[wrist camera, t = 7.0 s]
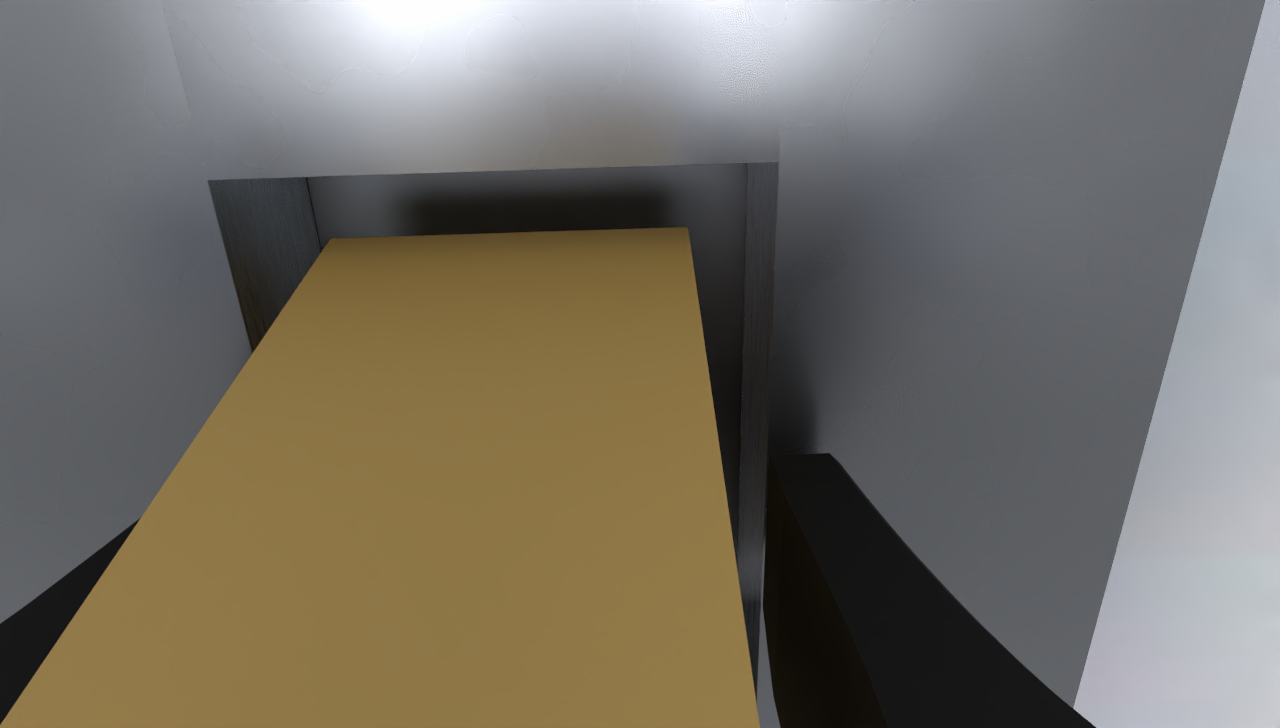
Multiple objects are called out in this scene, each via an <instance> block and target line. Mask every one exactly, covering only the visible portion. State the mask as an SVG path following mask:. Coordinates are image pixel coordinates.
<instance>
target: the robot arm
mask: <svg viewBox="0 0 1280 728" xmlns="http://www.w3.org/2000/svg"><path fill="white" fill-rule="evenodd" d="M140 519H141V518H140ZM140 519H138V520H137V521H136V522H134V523H133V524H132V525H130V526H129V527H128V528H127V529H125V530H124V531H123V532H121V533H120V534H119V535H118V536H116V537H115V538H114V539H112V540H111V541H110V542H108V543H107V544H106V545H105V546H103V547H102V548H101V549H99V550H98V551H97V552H95V553H94V554H93V555H91V556H90V557H89V558H88V559H86V560H85V561H84V562H82V563H81V564H80V565H78V566H77V567H76V568H74V569H73V570H72V571H70V572H69V573H68V574H67V575H65V576H64V577H63V578H61V579H60V580H59V581H57V582H56V583H55V584H53V585H52V586H51V587H49V588H48V589H47V590H46V591H44V592H43V593H42V594H40V595H39V596H38V597H36V598H35V599H34V600H32V601H31V602H30V603H28V604H27V605H26V606H24V607H23V608H22V609H20V610H19V611H17V612H16V613H14V614H13V615H12V616H10V617H9V618H7V619H6V620H5V621H3V622H2V623H0V725H1V723H2V722H3V720H4V719H5V717H6V716H7V714H8V713H9V712H10V710H11V709H12V707H13V706H14V704H15V703H16V701H17V700H18V698H19V697H20V695H21V694H22V692H23V691H24V689H25V688H26V686H27V685H28V684H29V682H30V681H31V679H32V678H33V676H34V675H35V673H36V672H37V670H38V669H39V667H40V666H41V664H42V663H43V661H44V660H45V659H46V657H47V656H48V654H49V653H50V651H51V650H52V648H53V647H54V645H55V644H56V642H57V641H58V639H59V638H60V636H61V635H62V633H63V632H64V631H65V629H66V628H67V626H68V625H69V623H70V622H71V620H72V619H73V617H74V616H75V614H76V613H77V611H78V610H79V608H80V607H81V605H82V604H83V603H84V601H85V600H86V598H87V597H88V595H89V594H90V592H91V591H92V589H93V588H94V586H95V585H96V583H97V582H98V580H99V579H100V577H101V576H102V575H103V573H104V572H105V570H106V569H107V567H108V566H109V564H110V563H111V561H112V560H113V558H114V557H115V555H116V554H117V552H118V551H119V549H120V548H121V547H122V545H123V544H124V542H125V541H126V539H127V538H128V536H129V535H130V533H131V532H132V530H133V529H134V527H135V526H136V524H137V523H138V521H139V520H140ZM763 614H764V623H765V631H766V640H767V649H768V657H769V665H770V673H771V681H772V689H773V697H774V701H775V706H776V710H777V715H778V719H779V723H780V727H781V728H1096V727H1095V726H1093V725H1092V724H1091V723H1090V722H1089V721H1087V720H1086V719H1085V718H1084V717H1083V716H1081V715H1080V714H1079V713H1078V712H1076V711H1075V710H1074V709H1073V708H1072V707H1070V706H1069V705H1068V704H1067V703H1066V702H1064V701H1063V700H1062V699H1061V698H1060V697H1058V696H1057V695H1056V694H1055V693H1054V692H1053V691H1052V690H1051V689H1049V688H1048V687H1047V686H1046V685H1045V684H1044V683H1043V682H1042V681H1041V680H1039V679H1038V678H1037V677H1036V676H1035V675H1034V674H1033V673H1032V672H1031V671H1030V670H1029V669H1027V668H1026V667H1025V666H1024V665H1023V664H1022V663H1021V662H1020V661H1019V660H1018V659H1017V658H1016V657H1015V656H1014V655H1013V654H1012V653H1010V652H1009V651H1008V650H1007V649H1006V648H1005V647H1004V646H1003V645H1002V644H1001V643H1000V642H999V641H998V640H997V639H996V638H995V637H994V636H993V635H992V634H991V633H990V632H989V631H988V630H987V629H986V628H985V627H984V626H982V625H981V623H980V622H979V621H978V620H977V619H976V618H975V617H974V616H973V615H972V614H971V613H970V612H969V611H968V610H967V609H966V608H965V607H964V606H963V605H962V604H961V603H960V602H959V601H958V600H957V599H956V598H955V597H954V596H953V595H952V594H951V592H950V591H949V590H948V589H947V588H946V587H945V586H944V585H943V584H942V583H941V582H940V581H939V580H938V578H937V577H936V576H935V575H934V574H933V573H932V572H931V571H930V570H929V569H928V568H927V567H926V565H925V564H924V563H923V562H922V561H921V560H920V559H919V558H918V557H917V556H916V555H915V553H914V552H913V551H912V550H911V549H910V548H909V547H908V545H907V544H906V543H905V542H904V541H903V540H902V539H901V537H900V536H899V535H898V534H897V533H896V532H895V530H894V529H893V528H892V527H891V526H890V524H889V523H888V522H887V521H886V520H885V519H884V517H883V516H882V515H881V514H880V513H879V511H878V510H877V509H876V508H875V507H874V505H873V504H872V503H871V502H870V500H869V499H868V498H867V497H866V496H865V494H864V493H863V492H862V491H861V489H860V488H859V487H858V486H857V484H856V483H855V482H854V480H853V479H852V478H851V477H850V475H849V474H848V473H847V472H846V470H845V469H844V468H843V466H842V465H841V464H840V463H839V462H838V461H837V460H836V459H835V458H834V457H833V456H832V455H831V454H830V453H813V454H780V455H769V471H768V494H767V517H766V540H765V563H764V586H763Z"/></svg>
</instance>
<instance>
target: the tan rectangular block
mask: <svg viewBox="0 0 1280 728" xmlns="http://www.w3.org/2000/svg"><path fill="white" fill-rule="evenodd" d="M0 728H760V724H759V717H758V710H757V704H756V697H755V690H754V683H753V676H752V669H751V662H750V655H749V648H748V641H747V634H746V627H745V620H744V613H743V606H742V599H741V592H740V585H739V578H738V571H737V564H736V557H735V550H734V544H733V537H732V530H731V523H730V516H729V509H728V502H727V495H726V488H725V481H724V474H723V467H722V460H721V453H720V446H719V439H718V432H717V425H716V418H715V411H714V404H713V397H712V391H711V384H710V377H709V370H708V363H707V356H706V349H705V342H704V335H703V328H702V321H701V314H700V307H699V300H698V293H697V286H696V279H695V272H694V265H693V258H692V251H691V244H690V237H689V231H688V227H673V228H642V229H610V230H579V231H548V232H516V233H485V234H454V235H422V236H391V237H360V238H331V239H330V240H329V242H328V243H327V244H326V246H325V247H324V249H323V250H322V252H321V253H320V255H319V256H318V258H317V259H316V261H315V262H314V264H313V265H312V267H311V268H310V270H309V271H308V272H307V274H306V275H305V277H304V278H303V280H302V281H301V283H300V284H299V286H298V287H297V289H296V290H295V292H294V293H293V295H292V296H291V298H290V299H289V300H288V302H287V303H286V305H285V306H284V308H283V309H282V311H281V312H280V314H279V315H278V317H277V318H276V320H275V321H274V323H273V324H272V326H271V327H270V328H269V330H268V331H267V333H266V334H265V336H264V337H263V339H262V340H261V342H260V343H259V345H258V346H257V348H256V349H255V351H254V352H253V354H252V355H251V356H250V358H249V359H248V361H247V362H246V364H245V365H244V367H243V368H242V370H241V371H240V373H239V374H238V376H237V377H236V379H235V380H234V382H233V383H232V384H231V386H230V387H229V389H228V390H227V392H226V393H225V395H224V396H223V398H222V399H221V401H220V402H219V404H218V405H217V407H216V408H215V410H214V411H213V412H212V414H211V415H210V417H209V418H208V420H207V421H206V423H205V424H204V426H203V427H202V429H201V430H200V432H199V433H198V435H197V436H196V437H195V439H194V440H193V442H192V443H191V445H190V446H189V448H188V449H187V451H186V452H185V454H184V455H183V457H182V458H181V460H180V461H179V463H178V464H177V465H176V467H175V468H174V470H173V471H172V473H171V474H170V476H169V477H168V479H167V480H166V482H165V483H164V485H163V486H162V488H161V489H160V491H159V492H158V493H157V495H156V496H155V498H154V499H153V501H152V502H151V504H150V505H149V507H148V508H147V510H146V511H145V513H144V514H143V516H142V517H141V519H140V520H139V521H138V523H137V524H136V526H135V527H134V529H133V530H132V532H131V533H130V535H129V536H128V538H127V539H126V541H125V542H124V544H123V545H122V547H121V548H120V549H119V551H118V552H117V554H116V555H115V557H114V558H113V560H112V561H111V563H110V564H109V566H108V567H107V569H106V570H105V572H104V573H103V575H102V576H101V577H100V579H99V580H98V582H97V583H96V585H95V586H94V588H93V589H92V591H91V592H90V594H89V595H88V597H87V598H86V600H85V601H84V603H83V604H82V605H81V607H80V608H79V610H78V611H77V613H76V614H75V616H74V617H73V619H72V620H71V622H70V623H69V625H68V626H67V628H66V629H65V631H64V632H63V633H62V635H61V636H60V638H59V639H58V641H57V642H56V644H55V645H54V647H53V648H52V650H51V651H50V653H49V654H48V656H47V657H46V659H45V660H44V661H43V663H42V664H41V666H40V667H39V669H38V670H37V672H36V673H35V675H34V676H33V678H32V679H31V681H30V682H29V684H28V685H27V686H26V688H25V689H24V691H23V692H22V694H21V695H20V697H19V698H18V700H17V701H16V703H15V704H14V706H13V707H12V709H11V710H10V712H9V713H8V714H7V716H6V717H5V719H4V720H3V722H2V723H1V725H0Z"/></svg>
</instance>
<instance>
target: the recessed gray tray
mask: <svg viewBox="0 0 1280 728" xmlns="http://www.w3.org/2000/svg"><path fill="white" fill-rule="evenodd" d="M1264 3H1265V0H0V623H2V622H3V621H5V620H6V619H7V618H9V617H10V616H12V615H13V614H14V613H16V612H17V611H19V610H20V609H22V608H23V607H24V606H26V605H27V604H28V603H30V602H31V601H32V600H34V599H35V598H36V597H38V596H39V595H40V594H42V593H43V592H44V591H46V590H47V589H48V588H49V587H51V586H52V585H53V584H55V583H56V582H57V581H59V580H60V579H61V578H63V577H64V576H65V575H67V574H68V573H69V572H70V571H72V570H73V569H74V568H76V567H77V566H78V565H80V564H81V563H82V562H84V561H85V560H86V559H88V558H89V557H90V556H91V555H93V554H94V553H95V552H97V551H98V550H99V549H101V548H102V547H103V546H105V545H106V544H107V543H108V542H110V541H111V540H112V539H114V538H115V537H116V536H118V535H119V534H120V533H121V532H123V531H124V530H125V529H127V528H128V527H129V526H130V525H132V524H133V523H134V522H136V521H137V520H138V519H140V518H141V517H142V516H143V514H144V513H145V511H146V510H147V508H148V507H149V505H150V504H151V502H152V501H153V499H154V498H155V496H156V495H157V493H158V492H159V491H160V489H161V488H162V486H163V485H164V483H165V482H166V480H167V479H168V477H169V476H170V474H171V473H172V471H173V470H174V468H175V467H176V465H177V464H178V463H179V461H180V460H181V458H182V457H183V455H184V454H185V452H186V451H187V449H188V448H189V446H190V445H191V443H192V442H193V440H194V439H195V437H196V436H197V435H198V433H199V432H200V430H201V429H202V427H203V426H204V424H205V423H206V421H207V420H208V418H209V417H210V415H211V414H212V412H213V411H214V410H215V408H216V407H217V405H218V404H219V402H220V401H221V399H222V398H223V396H224V395H225V393H226V392H227V390H228V389H229V387H230V386H231V384H232V383H233V382H234V380H235V379H236V377H237V376H238V374H239V373H240V371H241V370H242V368H243V367H244V365H245V364H246V362H247V361H248V359H249V358H250V356H251V355H252V354H253V352H254V351H255V349H256V348H257V346H258V345H259V343H260V342H261V340H262V339H263V337H264V336H265V334H266V333H267V331H268V330H269V328H270V327H271V326H272V324H273V323H274V321H275V320H276V318H277V317H278V315H279V314H280V312H281V311H282V309H283V308H284V306H285V305H286V303H287V302H288V300H289V299H290V298H291V296H292V295H293V293H294V292H295V290H296V289H297V287H298V286H299V284H300V283H301V281H302V280H303V278H304V277H305V275H306V274H307V272H308V271H309V270H310V268H311V267H312V265H313V264H314V262H315V261H316V259H317V258H318V256H319V255H320V253H321V250H320V245H319V240H318V235H317V230H316V225H315V220H314V216H313V211H312V206H311V201H310V196H309V191H308V186H307V182H306V177H320V176H352V175H383V174H414V173H446V172H477V171H509V170H540V169H572V168H603V167H634V166H666V165H697V164H729V163H748V164H747V204H746V243H745V283H744V322H743V361H742V401H741V440H740V480H739V519H738V558H737V571H738V578H739V585H740V592H741V599H742V606H743V613H744V620H745V627H746V634H747V641H748V648H749V655H750V662H751V669H752V676H753V683H754V690H755V697H756V704H757V710H758V717H759V724H760V728H781V727H780V723H779V719H778V715H777V710H776V706H775V701H774V697H773V689H772V681H771V673H770V665H769V657H768V649H767V640H766V631H765V623H764V614H763V586H764V563H765V540H766V517H767V494H768V471H769V455H780V454H813V453H830V454H831V455H832V456H833V457H834V458H835V459H836V460H837V461H838V462H839V463H840V464H841V465H842V466H843V468H844V469H845V470H846V472H847V473H848V474H849V475H850V477H851V478H852V479H853V480H854V482H855V483H856V484H857V486H858V487H859V488H860V489H861V491H862V492H863V493H864V494H865V496H866V497H867V498H868V499H869V500H870V502H871V503H872V504H873V505H874V507H875V508H876V509H877V510H878V511H879V513H880V514H881V515H882V516H883V517H884V519H885V520H886V521H887V522H888V523H889V524H890V526H891V527H892V528H893V529H894V530H895V532H896V533H897V534H898V535H899V536H900V537H901V539H902V540H903V541H904V542H905V543H906V544H907V545H908V547H909V548H910V549H911V550H912V551H913V552H914V553H915V555H916V556H917V557H918V558H919V559H920V560H921V561H922V562H923V563H924V564H925V565H926V567H927V568H928V569H929V570H930V571H931V572H932V573H933V574H934V575H935V576H936V577H937V578H938V580H939V581H940V582H941V583H942V584H943V585H944V586H945V587H946V588H947V589H948V590H949V591H950V592H951V594H952V595H953V596H954V597H955V598H956V599H957V600H958V601H959V602H960V603H961V604H962V605H963V606H964V607H965V608H966V609H967V610H968V611H969V612H970V613H971V614H972V615H973V616H974V617H975V618H976V619H977V620H978V621H979V622H980V623H981V625H982V626H984V627H985V628H986V629H987V630H988V631H989V632H990V633H991V634H992V635H993V636H994V637H995V638H996V639H997V640H998V641H999V642H1000V643H1001V644H1002V645H1003V646H1004V647H1005V648H1006V649H1007V650H1008V651H1009V652H1010V653H1012V654H1013V655H1014V656H1015V657H1016V658H1017V659H1018V660H1019V661H1020V662H1021V663H1022V664H1023V665H1024V666H1025V667H1026V668H1027V669H1029V670H1030V671H1031V672H1032V673H1033V674H1034V675H1035V676H1036V677H1037V678H1038V679H1039V680H1041V681H1042V682H1043V683H1044V684H1045V685H1046V686H1047V687H1048V688H1049V689H1051V690H1052V691H1053V692H1054V693H1055V694H1056V695H1057V696H1058V697H1060V698H1061V699H1062V700H1063V701H1064V702H1066V703H1067V704H1068V705H1069V706H1070V707H1072V708H1073V706H1074V703H1075V699H1076V695H1077V692H1078V688H1079V684H1080V681H1081V677H1082V673H1083V670H1084V666H1085V662H1086V659H1087V655H1088V651H1089V648H1090V644H1091V640H1092V636H1093V633H1094V629H1095V625H1096V622H1097V618H1098V614H1099V611H1100V607H1101V603H1102V600H1103V596H1104V592H1105V589H1106V585H1107V581H1108V577H1109V574H1110V570H1111V566H1112V563H1113V559H1114V555H1115V552H1116V548H1117V544H1118V541H1119V537H1120V533H1121V530H1122V526H1123V522H1124V519H1125V515H1126V511H1127V507H1128V504H1129V500H1130V496H1131V493H1132V489H1133V485H1134V482H1135V478H1136V474H1137V471H1138V467H1139V463H1140V460H1141V456H1142V452H1143V449H1144V445H1145V441H1146V437H1147V434H1148V430H1149V426H1150V423H1151V419H1152V415H1153V412H1154V408H1155V404H1156V401H1157V397H1158V393H1159V390H1160V386H1161V382H1162V378H1163V375H1164V371H1165V367H1166V364H1167V360H1168V356H1169V353H1170V349H1171V345H1172V342H1173V338H1174V334H1175V331H1176V327H1177V323H1178V320H1179V316H1180V312H1181V308H1182V305H1183V301H1184V297H1185V294H1186V290H1187V286H1188V283H1189V279H1190V275H1191V272H1192V268H1193V264H1194V261H1195V257H1196V253H1197V249H1198V246H1199V242H1200V238H1201V235H1202V231H1203V227H1204V224H1205V220H1206V216H1207V213H1208V209H1209V205H1210V202H1211V198H1212V194H1213V191H1214V187H1215V183H1216V179H1217V176H1218V172H1219V168H1220V165H1221V161H1222V157H1223V154H1224V150H1225V146H1226V143H1227V139H1228V135H1229V132H1230V128H1231V124H1232V121H1233V117H1234V113H1235V109H1236V106H1237V102H1238V98H1239V95H1240V91H1241V87H1242V84H1243V80H1244V76H1245V73H1246V69H1247V65H1248V62H1249V58H1250V54H1251V50H1252V47H1253V43H1254V39H1255V36H1256V32H1257V28H1258V25H1259V21H1260V17H1261V14H1262V10H1263V6H1264Z"/></svg>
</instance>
